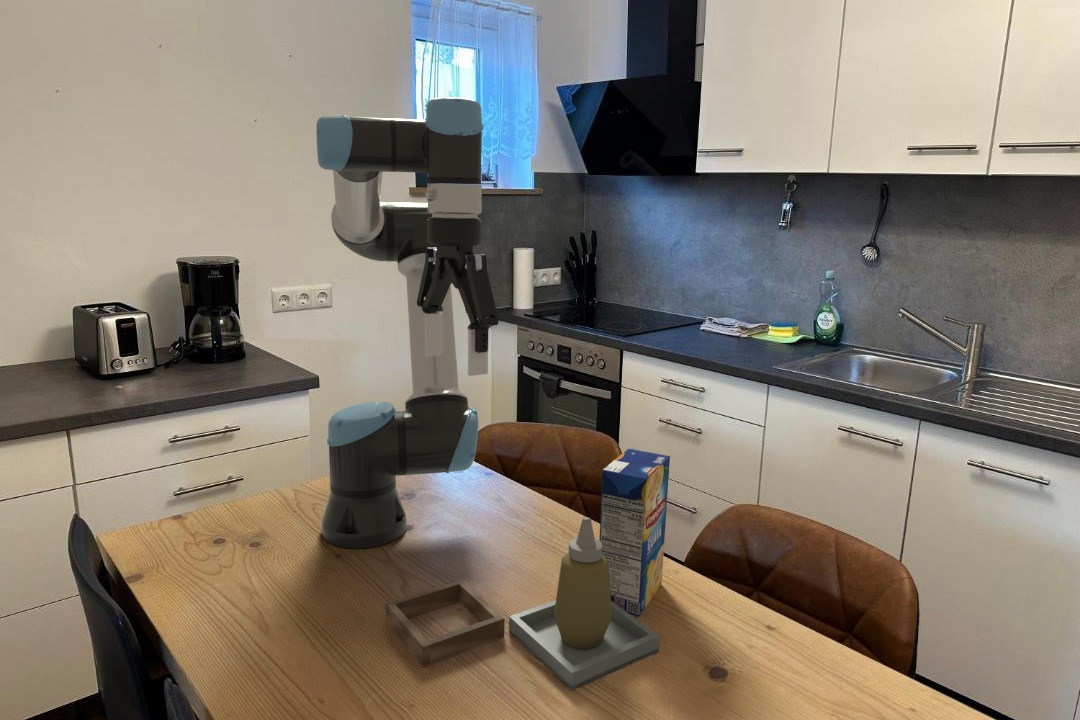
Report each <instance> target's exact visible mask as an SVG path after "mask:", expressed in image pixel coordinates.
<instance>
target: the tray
mask: <svg viewBox="0 0 1080 720" xmlns="http://www.w3.org/2000/svg"><path fill="white" fill-rule="evenodd" d="M555 603H556V599H554V600H552V601H549V602H546V603H544V604H541V605H538V606H535V607H532V608H529V609H527V610H523V611H521V612H517V613H514V614H512V615H509V616H508V619H509V620H508V633H509V634H511V636H513V638H515V639H516V640H517V641H518V642H519V643H520V644H521V645H523V647H524V648H525V649H527V650H528V652H529V653H531V655H533V656H534V657H535V658H536V659H537V660H538V661H539V662H541V664H543V666H545V667H546V668H547V669H548V670H549V671H550V672H551V673H552V674H553V675H554V676H556V678H557V679H559V680H560V682H562V683H563V684H564V685H565V686H566V687H567V688H568V689H569V690H570V691H573V690H576V689H578V688H581V687H583V686H585V685H587V684H589V683H591V682H595V681H596V680H599V679H601V678H603V677H606V676H608V675H610V674H612V673H615V672H617V671H619V670H621V669H623V668H625V667H627V666H630V665H633V664H634V663H637V662H640V661H641V660H644V659H646V658H648V657H651V656H654V654H657V653H659V652H660V638H661V636H660V635H659V634H658V633H657V632H655V631H654V630H652V629H651V628H649V627H648V626H647V625H646V624H644V623H643V622H641V621H640V620H639V619H638V618H636V617H635V616H633V615H630V614H629V613H627V612H626V611H625V610H623V609H622V608H620V607H619V606H618V605H616V604H615V603H614V602H612V601H611V613H612V619H611V622H610V624H609V626H608V629H607V631H606V633H605V636H604V638H603V640H602V642H601V643H600V644H599V645H598V646H596V647H594V648H589V649H578V648H574V647H571V646H569V645H567V644H566V643H565V642H564V641H563V640H562V638H561V635H560V632H559V629H558V626H557V623H556V620H555V616H554V610H555Z"/></svg>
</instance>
